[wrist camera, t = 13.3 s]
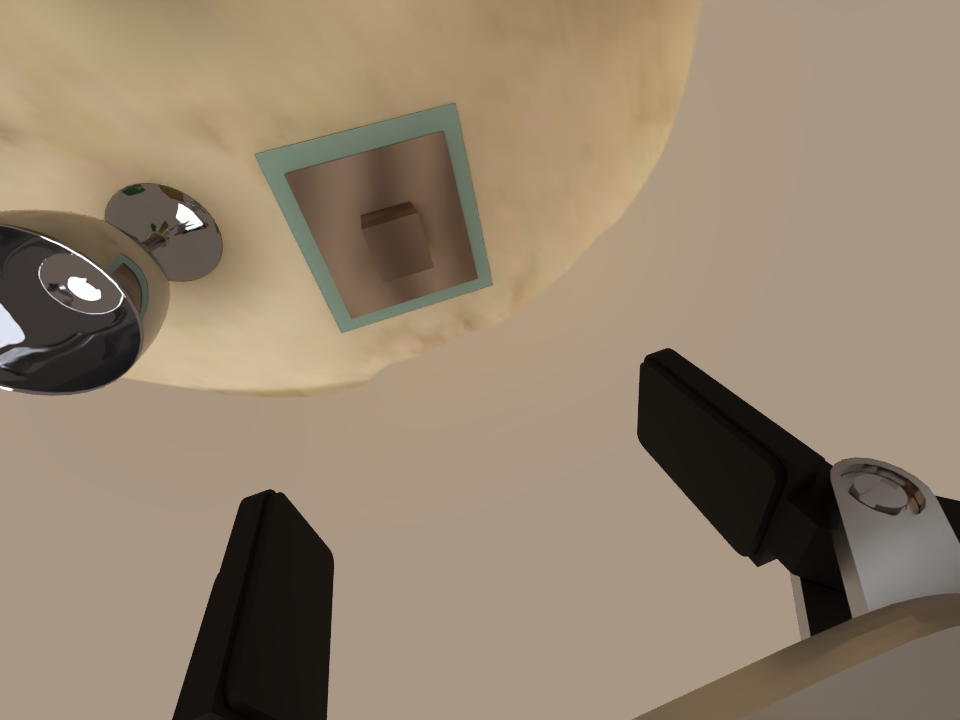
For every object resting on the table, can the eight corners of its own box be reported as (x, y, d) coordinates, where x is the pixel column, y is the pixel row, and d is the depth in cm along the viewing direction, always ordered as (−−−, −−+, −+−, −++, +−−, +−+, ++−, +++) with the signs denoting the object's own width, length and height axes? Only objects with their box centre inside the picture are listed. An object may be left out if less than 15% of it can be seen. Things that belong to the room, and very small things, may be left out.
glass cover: (441, 130, 29) (459, 131, 24) (475, 275, 36) (494, 298, 31) (286, 172, 28) (271, 183, 23) (351, 314, 35) (350, 345, 30)
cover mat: (453, 103, 29) (455, 102, 29) (490, 282, 38) (492, 284, 37) (255, 154, 27) (254, 154, 27) (341, 330, 36) (341, 333, 35)
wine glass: (155, 301, 30) (20, 420, 18) (65, 200, 26) (-196, 268, 14) (250, 264, 31) (182, 356, 19) (179, 159, 26) (27, 189, 14)
